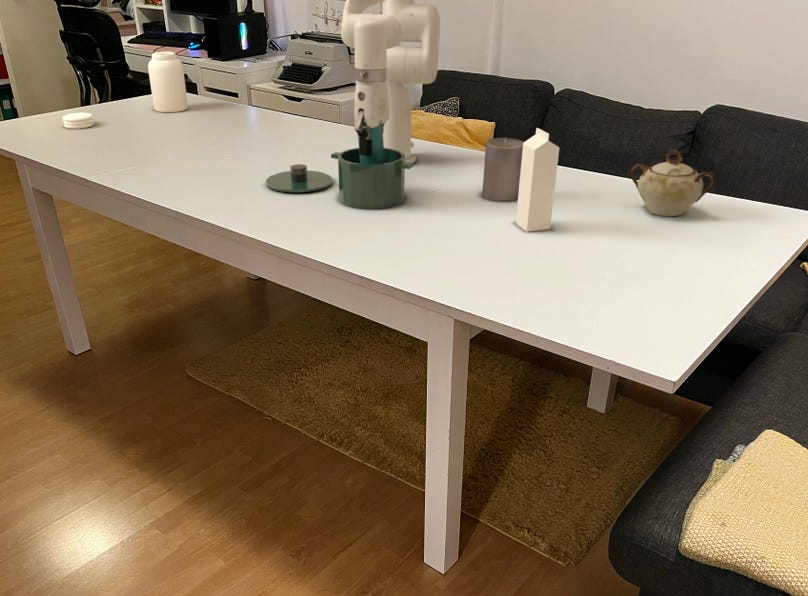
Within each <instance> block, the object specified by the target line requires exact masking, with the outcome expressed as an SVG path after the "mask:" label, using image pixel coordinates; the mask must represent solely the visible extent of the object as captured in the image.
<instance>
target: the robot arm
mask: <svg viewBox="0 0 808 596" xmlns="http://www.w3.org/2000/svg"><path fill="white" fill-rule="evenodd" d="M381 3H382V14H381V13H380V14H379V13H378V14H377V13H376V14H375V13H363V12H364V11H365V10H367V9H368V8H371V7H374V6H376V5H378V4H381ZM440 35H441V18H440V12H439V10H438V8H437V7H436V6H435V5H432V4H429V3H428V4H427V3H415V0H346V1H345V3H344V7H343V12H342V19H341V24H340V36H341V40H342V42H343V45H345V46H346V47H349V48H353V49H354V83H355V92H354V124H355V125H354V131H355V132H356V134H357V139H359V142H358V143H359V144H358V148H359V154H360V155H364V156H371V155H372V140H371V139H370V136H371V128H375V127H377V126H379V125H380V124H382V133H383V139H384V140H383V143H384V148H390V149H394V150H398V151H400V152H402V153H403V154H404V156H405V162H410V163H413V164H414V163H415V162H416V161H417V157H416V155H415V154H414V153H412V152H411V150H412V148H414V147H415V142H414V141H412V107H413V106H412V105H413V104H412V97H411V94H410V92H409V91H408V89H407V88H406V87H405V85H406V84H412V85H413V84H415V85H416V84H417V85H418V84H419V85H430V84H432V83H434V81H435V80H436V78H437V75H438V71H439V69H438V68H439V54H440ZM399 42H401V43H402V42H404V43H406V42H407V43H420V44H422V46H400V45H399V46H398V44H399ZM404 84H405V85H404ZM363 122H366V124H367V126H362V125H363ZM363 128H365V129H367V133H366V131H365V130H363Z"/></svg>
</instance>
